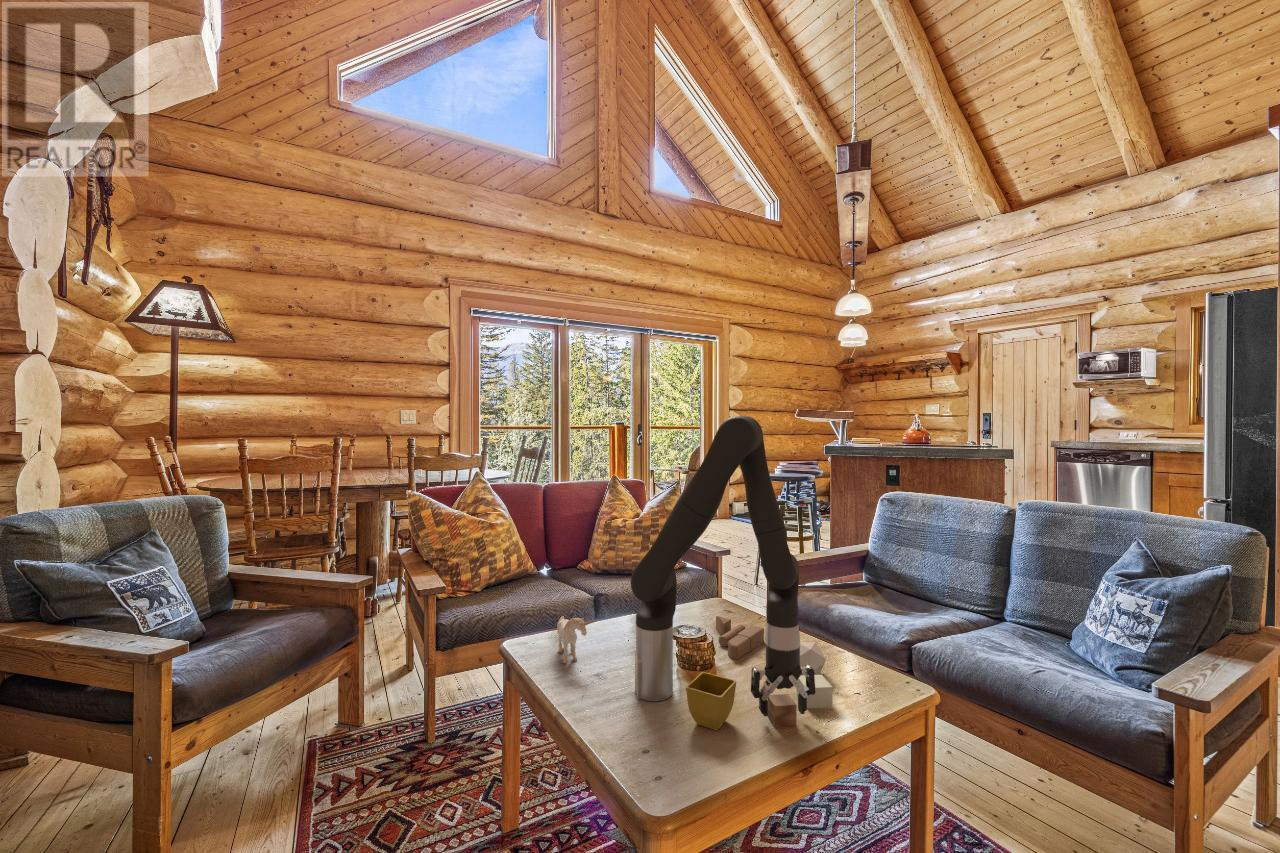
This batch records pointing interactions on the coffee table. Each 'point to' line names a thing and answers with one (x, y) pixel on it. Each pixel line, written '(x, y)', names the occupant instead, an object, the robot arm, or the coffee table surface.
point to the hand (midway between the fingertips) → (783, 713)
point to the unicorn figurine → (570, 634)
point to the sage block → (818, 692)
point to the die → (811, 656)
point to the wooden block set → (738, 637)
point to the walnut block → (782, 711)
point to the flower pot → (710, 699)
